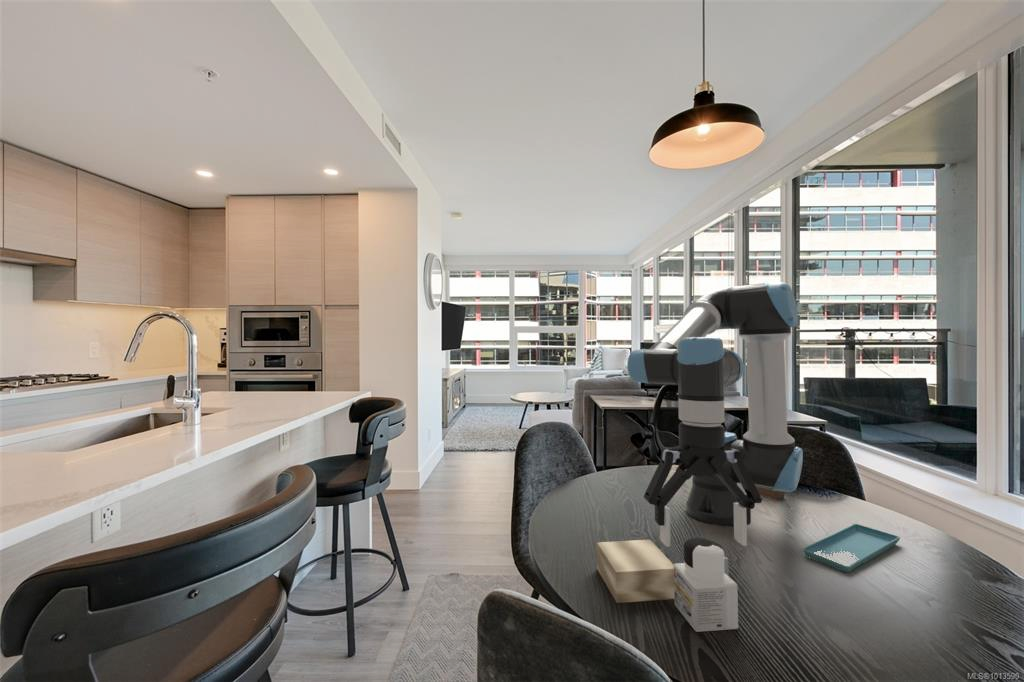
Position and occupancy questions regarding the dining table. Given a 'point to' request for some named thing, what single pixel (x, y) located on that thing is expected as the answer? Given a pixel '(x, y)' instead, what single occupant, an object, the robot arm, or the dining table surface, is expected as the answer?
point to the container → (705, 587)
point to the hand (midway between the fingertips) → (702, 542)
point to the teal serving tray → (852, 545)
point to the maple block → (635, 570)
